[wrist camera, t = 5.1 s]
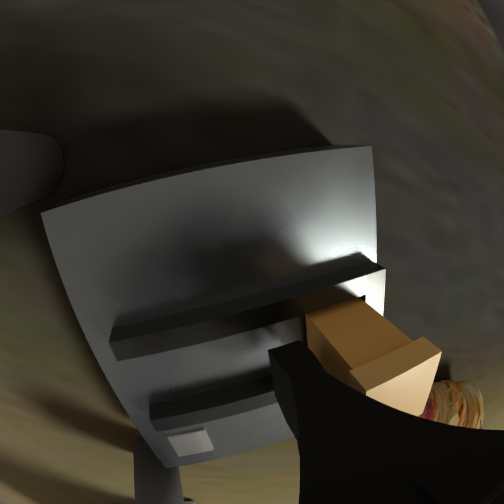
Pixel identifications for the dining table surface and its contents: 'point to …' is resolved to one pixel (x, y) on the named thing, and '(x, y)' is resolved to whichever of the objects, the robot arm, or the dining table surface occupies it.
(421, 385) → the switch knob
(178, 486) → the cylinder
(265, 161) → the panel
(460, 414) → the croissant
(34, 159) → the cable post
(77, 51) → the dining table surface
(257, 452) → the dining table surface
